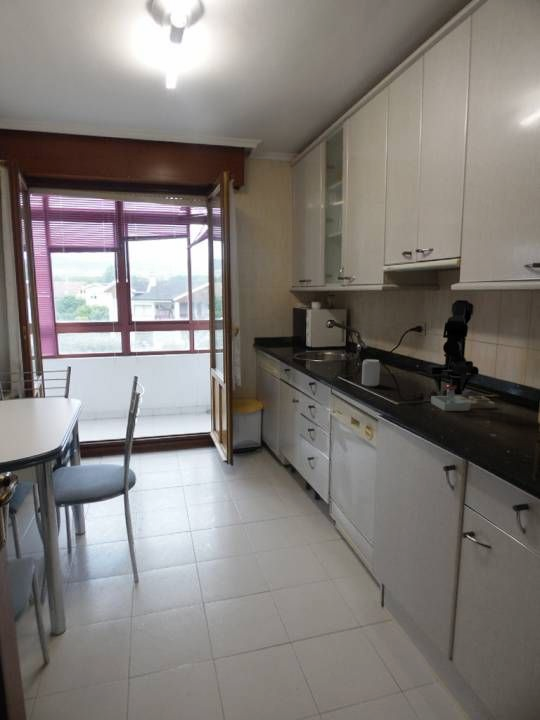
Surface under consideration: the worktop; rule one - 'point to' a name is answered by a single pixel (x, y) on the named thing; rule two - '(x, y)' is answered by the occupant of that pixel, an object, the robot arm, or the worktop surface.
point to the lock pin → (450, 393)
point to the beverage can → (370, 372)
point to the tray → (456, 406)
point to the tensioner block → (476, 399)
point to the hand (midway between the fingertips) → (450, 391)
